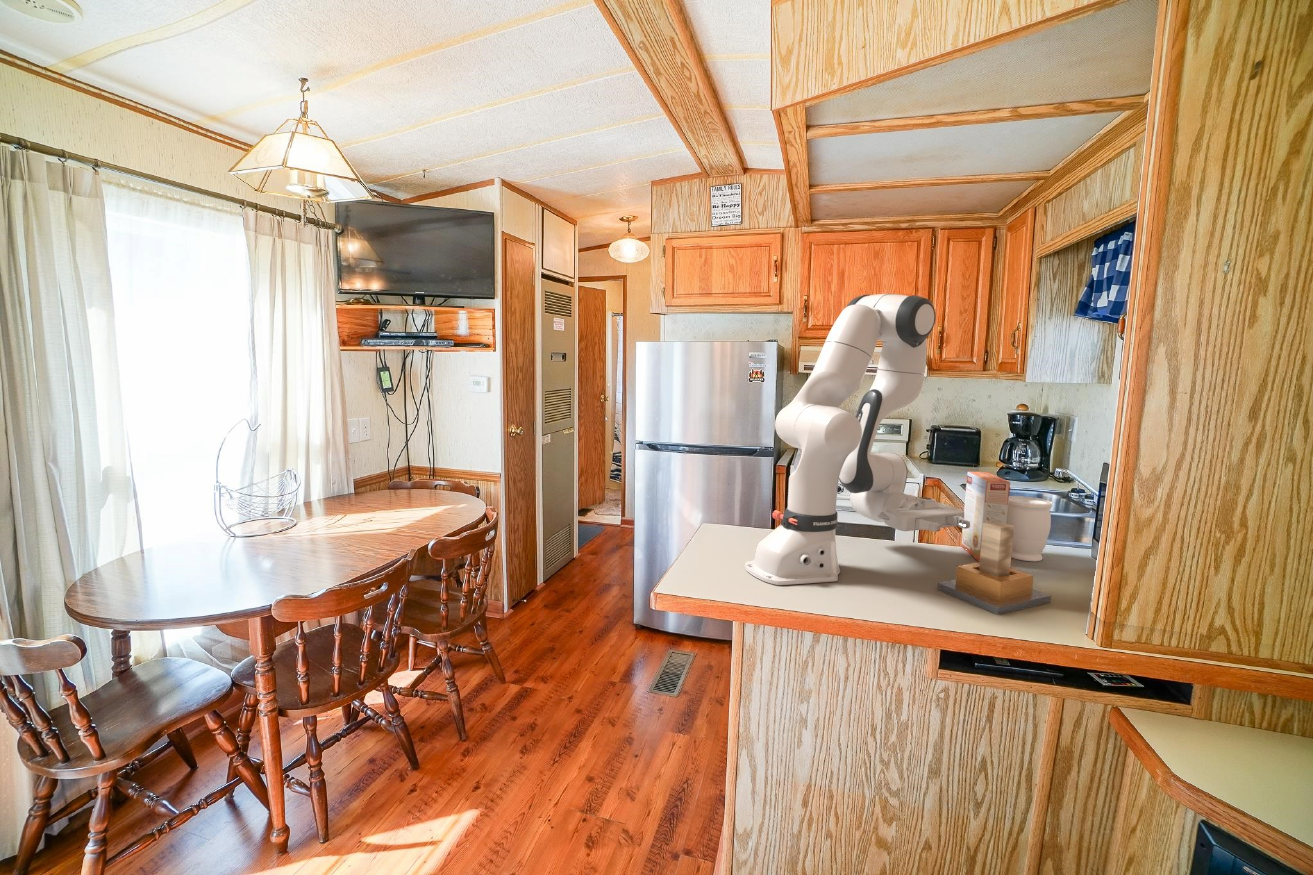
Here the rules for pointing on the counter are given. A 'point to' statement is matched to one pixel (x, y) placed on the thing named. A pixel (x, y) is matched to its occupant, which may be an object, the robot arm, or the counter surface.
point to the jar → (1029, 526)
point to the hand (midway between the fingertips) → (953, 526)
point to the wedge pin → (996, 549)
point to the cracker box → (983, 507)
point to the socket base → (994, 589)
